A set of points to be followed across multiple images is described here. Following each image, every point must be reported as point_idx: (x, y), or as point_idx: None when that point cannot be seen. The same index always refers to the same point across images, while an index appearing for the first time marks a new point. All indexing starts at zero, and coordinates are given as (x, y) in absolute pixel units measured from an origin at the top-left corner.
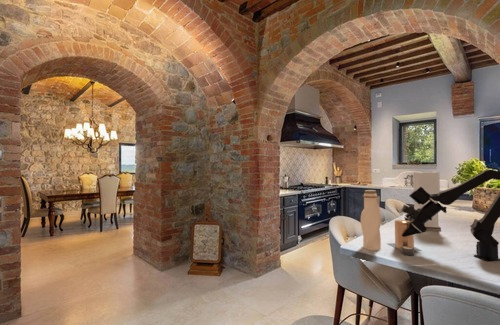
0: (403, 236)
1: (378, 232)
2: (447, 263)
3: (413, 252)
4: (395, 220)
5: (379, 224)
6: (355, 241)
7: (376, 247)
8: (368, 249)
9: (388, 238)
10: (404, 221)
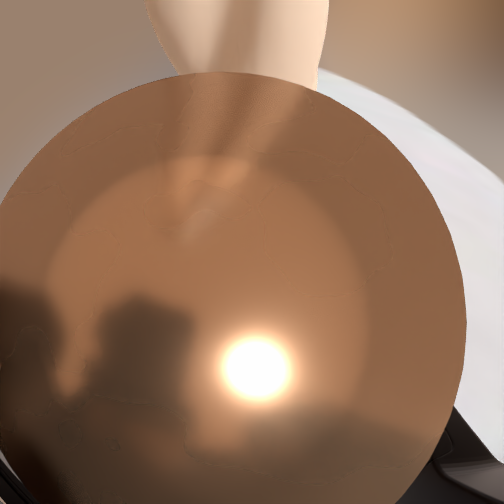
0: None
1: (174, 62)
2: None
3: None
4: (330, 101)
5: (147, 9)
6: (378, 102)
7: None
8: None
9: (500, 316)
10: (129, 335)
